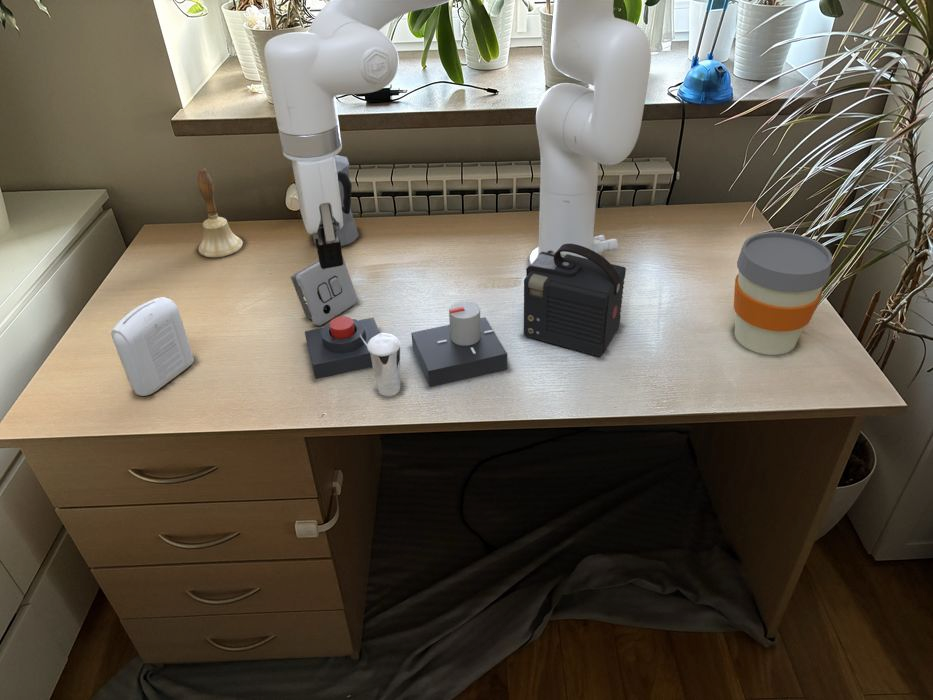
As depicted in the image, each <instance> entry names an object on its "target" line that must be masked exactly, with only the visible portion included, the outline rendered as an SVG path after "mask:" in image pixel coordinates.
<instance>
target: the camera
mask: <svg viewBox="0 0 933 700" xmlns="http://www.w3.org/2000/svg"><path fill="white" fill-rule="evenodd" d="M561 252H571V253H575V254H578V255H581V256H583V257H585V258H582V257H577V256H573V255H569V254H566V255H564V254H560V253H561ZM586 258H587V259H586ZM525 270H526V276H525V277H524V279H523V335H524V336H525V337H528V338H532V339H534V340H539V341H543V342H545V343H548V344H551V345H556V346H559V347H563V348H567V349H570V350H574V351H578V352H582V353H586V354H588V355H593V356H596V357H601V356H602V355H603V354H604V352H606V349H607V347H608V345H609V344H610V343H611V341H612V340H613V337H614V336H615V335H616V332H617V331H618V329H619V328H620V324H621V317H622V316H621V315H622V314H621V312H622V307H623V306H622V303H623V298H624V296H623V294H624V284H625V279H626V271H627V268H626V266H622V265H618V264H613V263H611V262H610V261H608V260H607V259H606V258H605V257H604V256H602V255H601V254H598V253H596V252H594V251H592V250H590V249H588V248H586V247H583V246H580V245H576V244H563V245H562V246H561V247H560V248H559V249H558V250H557V252H556V253H555V252H553V251H551V250H550V251H548V252H547V253H546V252H541V253H539V255H538V257H537V258H536V259H535V261H534V262H533V263H532V264H531V265H530V264H529V265H528V266H527V267H526V269H525Z"/></svg>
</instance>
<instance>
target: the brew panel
mask: <svg viewBox="0 0 933 700" xmlns="http://www.w3.org/2000/svg"><path fill="white" fill-rule="evenodd" d="M480 323H481V338H480V340H479V341H478V342H477V343H475V344H473V345H468V346H462V345H457V344H455V343H454V342H453V341H452V340H451V338H450V324H446V325H442V326H437V327H431V328H426V329H422V330H417V331H413V332H410V334H411V345H412V350H413V353H414V354H415V357H416V359H417V362H418V364H419V366H420V368H421V371H422V373H423V375H424V377H425V380H426V382H427V385H428V387H429V388H431V387H436V386H440V385H444V384H449V383H453V382H459V381H463V380H466V379H467V380H468V379H472V378H476V377H480V376H484V375H489V374H493V373H498V372H502V371H506V370H508V353H507V351H506V350H505V348H504V346H503V344H502V343H501V341H500V339H499V338H498V336H497V334H496V332H495V331H494V329H493V328H492V325H491V324H490V322H489V320H488V319H487V317H486V316H485V317H480Z"/></svg>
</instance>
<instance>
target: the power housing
mask: <svg viewBox="0 0 933 700" xmlns="http://www.w3.org/2000/svg"><path fill="white" fill-rule="evenodd" d="M352 319H353V321H354V327H355V333H354V335H352V336H351V337H349V338H344V339H337V338H334V337H332V335H331V331H330V325H329V324H330V322H328V323H326V324H325V325H323V327H319V328H314V329H309V330H304V337H305V341H306V346H307V350H308V354H309V358H310V363H311V367H312V371H313V375H314V379H315V380H318V379H322V378H327V377H333V376H336V375H337V376H338V375H342V374H345V373H349V372H350V373H351V372H354V371H360V370H363V369H368V368H373V367H372V363H371V359H370V356H369V352H368V348H367V346H366V344H365V343H364V342H363V340H362V339H361V337H360V335H361V336H362V338H363V339H364V341H365V342H366V343H367V345H368V342H369V340H370V339H371V338H372V337H374V336H376V335H378V334H379V333H381V332H380V330H379V327H378V325H377V322H376V319H375V317H369V318H363V319H359V320H358V319H356V318H352Z"/></svg>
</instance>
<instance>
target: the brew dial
mask: <svg viewBox="0 0 933 700" xmlns="http://www.w3.org/2000/svg"><path fill="white" fill-rule="evenodd" d="M480 318H481V307H480V306H479V304H477V303H476V302H473V301H470V300H461V301H456V302H454V303H453V304H451V305H450V307H449V308H448V319H449V320H448V321H449V325H450V338H451V340H452V341H453V342H454V343H455V344H457V345H462V346H468V345H473V344H475V343H477V342H478V341H479V340H480V338H481V323H480Z"/></svg>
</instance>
